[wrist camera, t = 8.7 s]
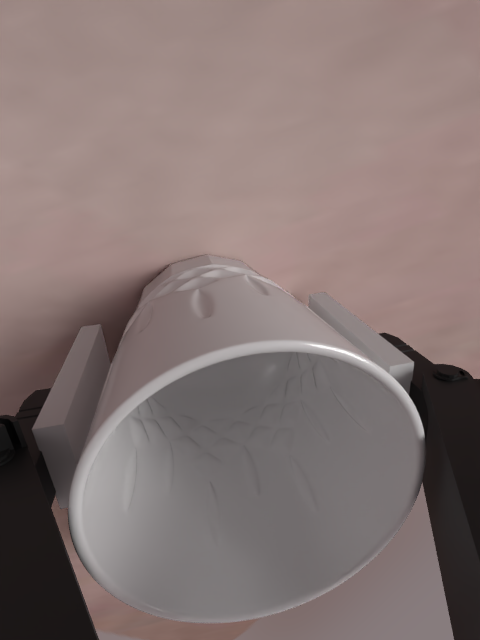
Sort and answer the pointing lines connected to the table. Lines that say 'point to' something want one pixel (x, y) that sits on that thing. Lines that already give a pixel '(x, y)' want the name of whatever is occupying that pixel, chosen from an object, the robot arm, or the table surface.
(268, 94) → the table surface
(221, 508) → the white cup
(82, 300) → the table surface
